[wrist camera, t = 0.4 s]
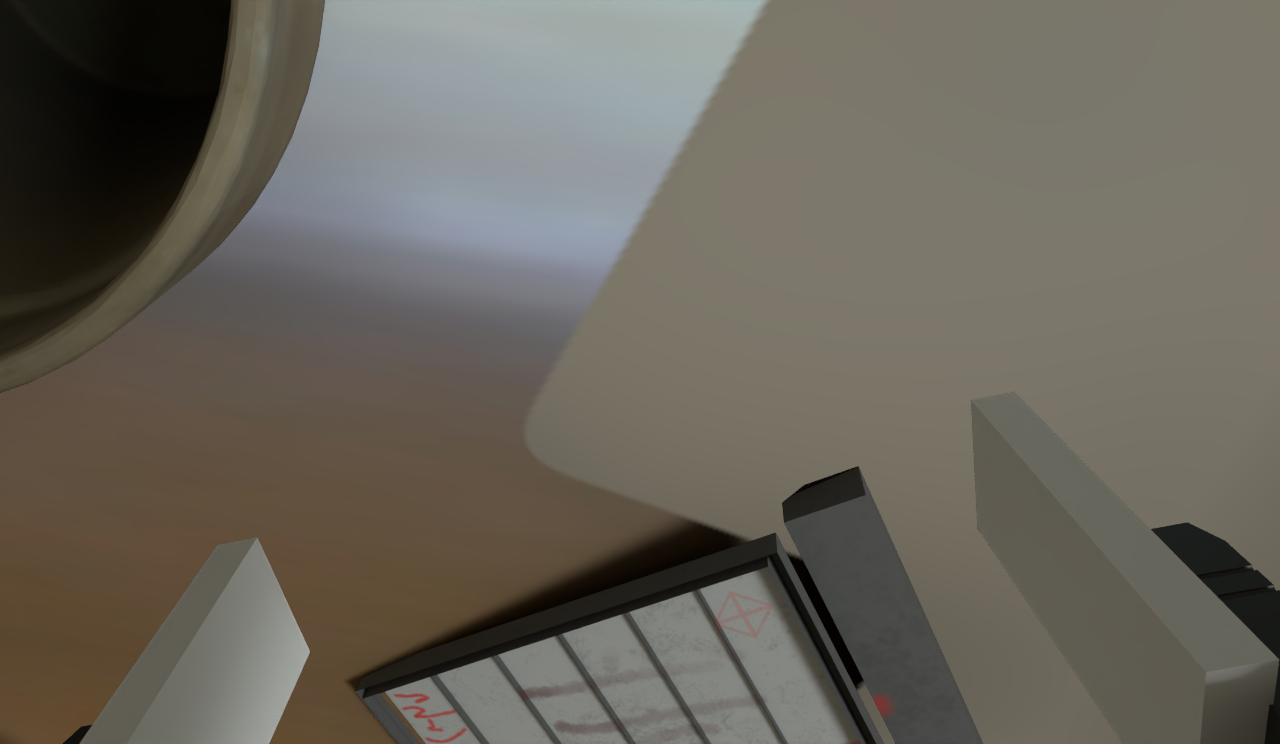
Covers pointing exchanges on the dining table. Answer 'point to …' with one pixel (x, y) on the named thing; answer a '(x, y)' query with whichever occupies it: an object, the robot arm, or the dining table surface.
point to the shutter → (703, 652)
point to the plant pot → (131, 153)
